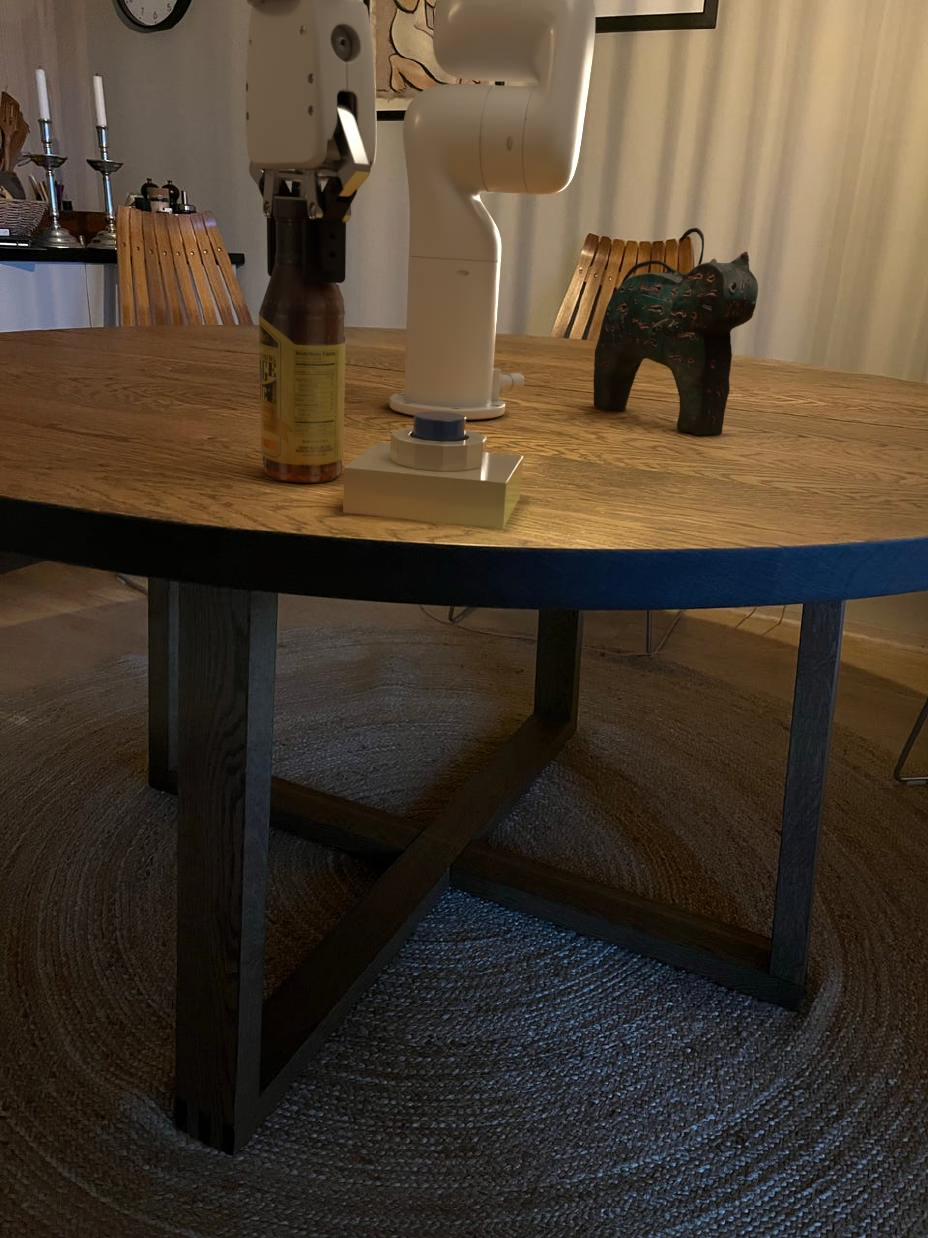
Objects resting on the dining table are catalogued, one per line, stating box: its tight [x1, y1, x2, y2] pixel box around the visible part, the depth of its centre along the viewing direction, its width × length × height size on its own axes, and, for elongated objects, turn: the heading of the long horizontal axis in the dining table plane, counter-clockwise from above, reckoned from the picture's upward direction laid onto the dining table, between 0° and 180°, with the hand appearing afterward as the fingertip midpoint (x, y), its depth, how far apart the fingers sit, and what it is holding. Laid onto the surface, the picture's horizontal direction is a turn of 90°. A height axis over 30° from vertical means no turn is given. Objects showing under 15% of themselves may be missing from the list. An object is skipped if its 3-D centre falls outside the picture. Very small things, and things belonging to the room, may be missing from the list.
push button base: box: [342, 426, 524, 530], centre depth 70 cm, size 9×11×5 cm
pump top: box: [412, 411, 467, 442], centre depth 69 cm, size 4×4×2 cm
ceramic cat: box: [592, 227, 759, 437], centre depth 106 cm, size 20×6×20 cm, turn 32°
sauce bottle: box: [258, 196, 346, 484], centre depth 73 cm, size 6×6×20 cm
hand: (305, 276), depth 71 cm, fingers closed on sauce bottle, 4 cm apart
